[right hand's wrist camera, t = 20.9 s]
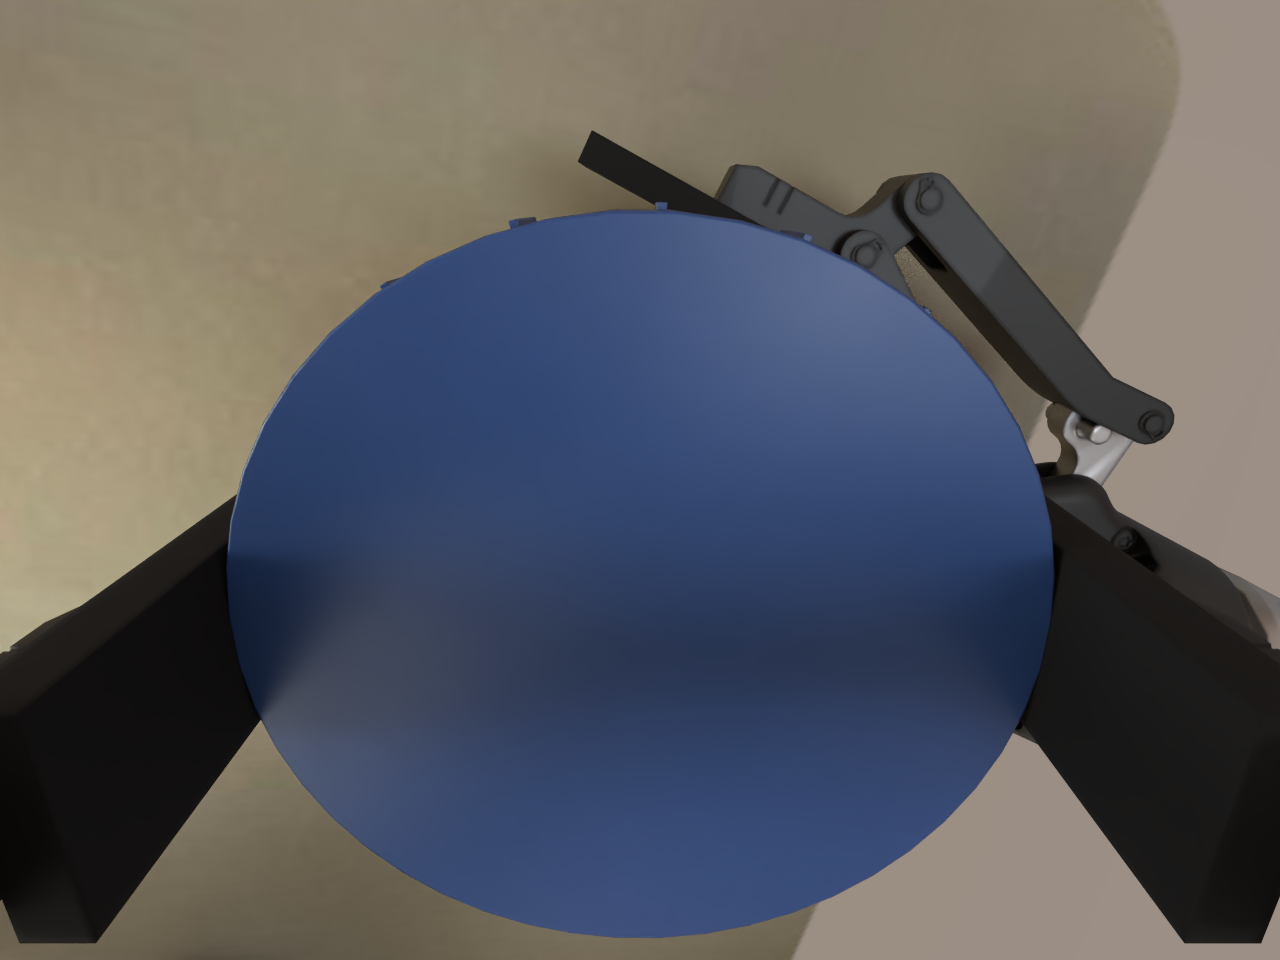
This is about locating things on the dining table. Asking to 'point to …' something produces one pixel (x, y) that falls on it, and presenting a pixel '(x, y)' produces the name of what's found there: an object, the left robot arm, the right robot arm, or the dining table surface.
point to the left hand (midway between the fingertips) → (501, 343)
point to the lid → (640, 573)
